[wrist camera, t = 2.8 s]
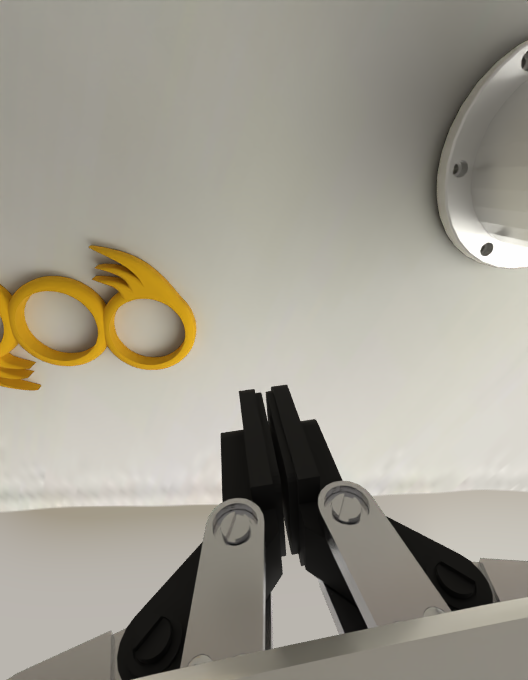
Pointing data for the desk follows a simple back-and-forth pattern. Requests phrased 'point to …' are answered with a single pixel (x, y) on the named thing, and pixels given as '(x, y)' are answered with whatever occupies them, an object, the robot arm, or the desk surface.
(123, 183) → the desk surface
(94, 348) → the yellow triple ring ornament
